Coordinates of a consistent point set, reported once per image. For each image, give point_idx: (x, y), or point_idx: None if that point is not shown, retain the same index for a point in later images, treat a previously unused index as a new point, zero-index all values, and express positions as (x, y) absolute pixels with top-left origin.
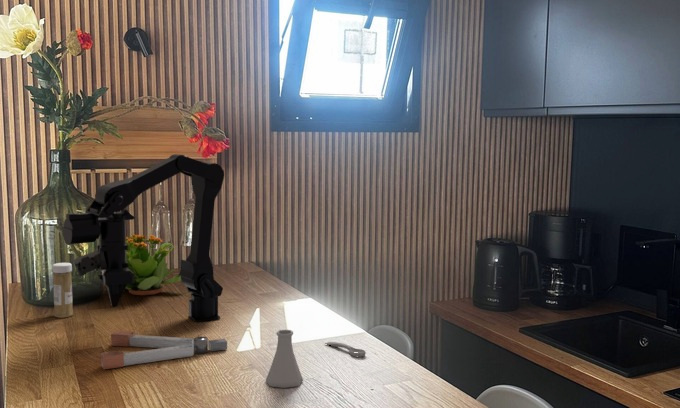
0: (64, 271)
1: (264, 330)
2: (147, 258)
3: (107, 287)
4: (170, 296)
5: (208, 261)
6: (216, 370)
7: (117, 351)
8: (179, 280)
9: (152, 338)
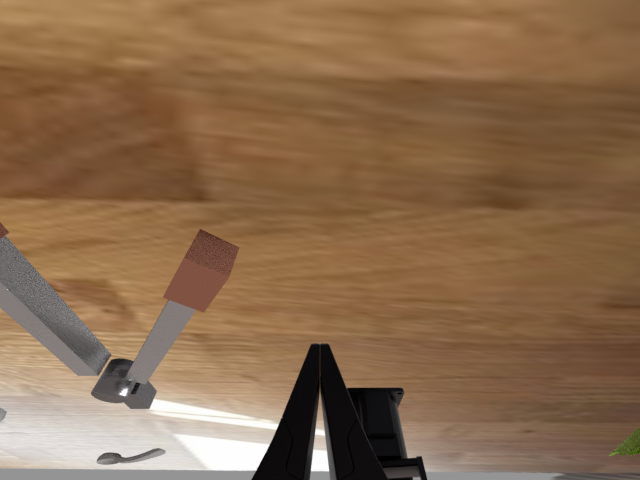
0: None
1: (247, 428)
2: None
3: (335, 463)
4: (595, 386)
5: None
6: (8, 363)
7: None
8: (629, 436)
9: (152, 332)
